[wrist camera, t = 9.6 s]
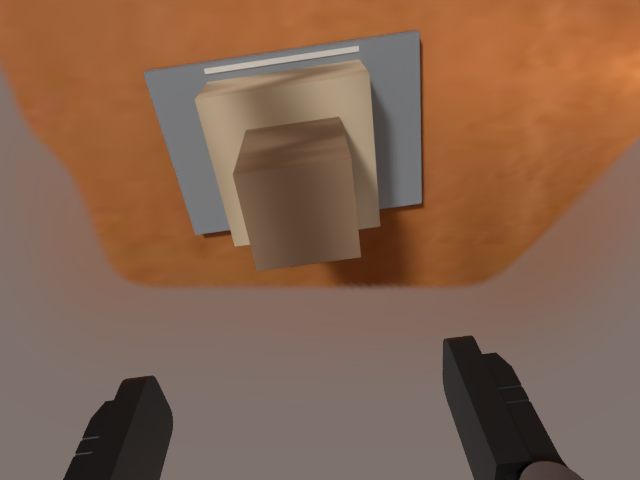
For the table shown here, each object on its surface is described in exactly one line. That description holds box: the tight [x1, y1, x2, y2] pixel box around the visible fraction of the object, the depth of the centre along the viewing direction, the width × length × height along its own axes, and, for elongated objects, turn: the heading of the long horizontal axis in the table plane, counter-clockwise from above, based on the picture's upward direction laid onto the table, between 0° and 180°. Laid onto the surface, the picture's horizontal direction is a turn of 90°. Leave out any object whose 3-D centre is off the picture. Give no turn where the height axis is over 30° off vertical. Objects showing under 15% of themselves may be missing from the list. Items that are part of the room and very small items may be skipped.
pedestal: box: [195, 60, 380, 247], centre depth 27 cm, size 9×9×4 cm
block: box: [233, 117, 361, 271], centre depth 23 cm, size 5×5×6 cm
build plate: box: [143, 30, 422, 235], centre depth 29 cm, size 16×11×1 cm
